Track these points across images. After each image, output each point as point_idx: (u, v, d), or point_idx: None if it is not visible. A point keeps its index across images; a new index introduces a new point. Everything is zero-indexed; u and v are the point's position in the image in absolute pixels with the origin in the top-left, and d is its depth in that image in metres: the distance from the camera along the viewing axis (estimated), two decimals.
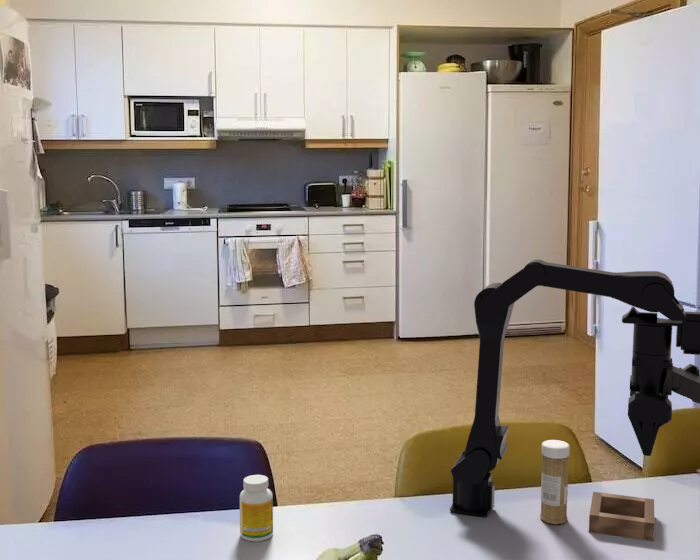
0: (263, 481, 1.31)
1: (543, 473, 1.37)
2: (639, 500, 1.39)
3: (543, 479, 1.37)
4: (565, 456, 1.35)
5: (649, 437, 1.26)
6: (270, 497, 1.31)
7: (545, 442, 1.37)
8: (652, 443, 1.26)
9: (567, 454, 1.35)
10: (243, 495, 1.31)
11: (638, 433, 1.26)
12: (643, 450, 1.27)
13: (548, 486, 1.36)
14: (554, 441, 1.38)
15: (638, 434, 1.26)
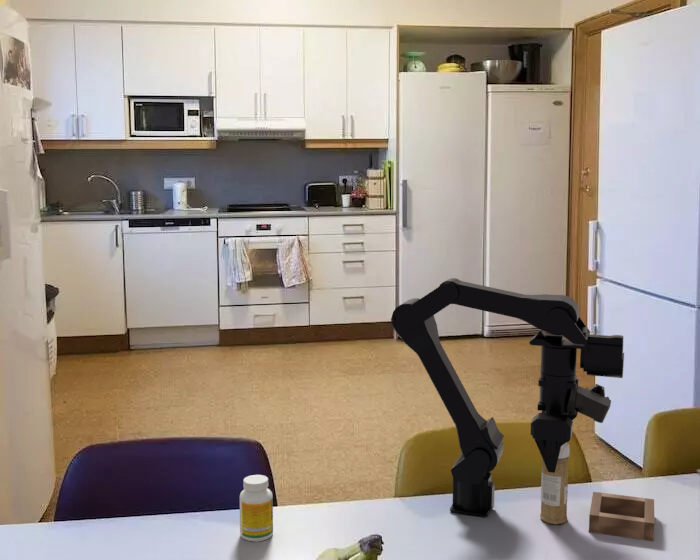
0: (263, 481, 1.31)
1: (543, 473, 1.37)
2: (639, 500, 1.39)
3: (543, 479, 1.37)
4: (565, 456, 1.35)
5: (552, 455, 1.31)
6: (270, 497, 1.31)
7: None
8: (555, 460, 1.31)
9: (567, 454, 1.35)
10: (243, 495, 1.31)
11: (542, 451, 1.31)
12: (547, 467, 1.32)
13: (548, 486, 1.36)
14: None
15: (542, 452, 1.31)
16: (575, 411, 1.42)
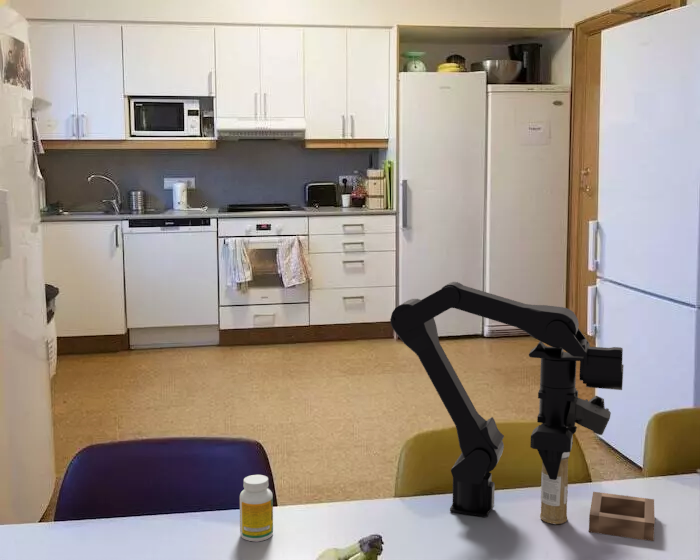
0: (264, 481, 1.31)
1: (543, 473, 1.37)
2: (639, 500, 1.39)
3: (543, 479, 1.37)
4: (565, 456, 1.35)
5: (554, 462, 1.34)
6: (270, 497, 1.31)
7: None
8: (557, 468, 1.34)
9: (567, 454, 1.35)
10: (243, 495, 1.31)
11: (544, 458, 1.34)
12: (549, 474, 1.35)
13: (548, 486, 1.36)
14: None
15: (544, 459, 1.34)
16: (574, 426, 1.40)
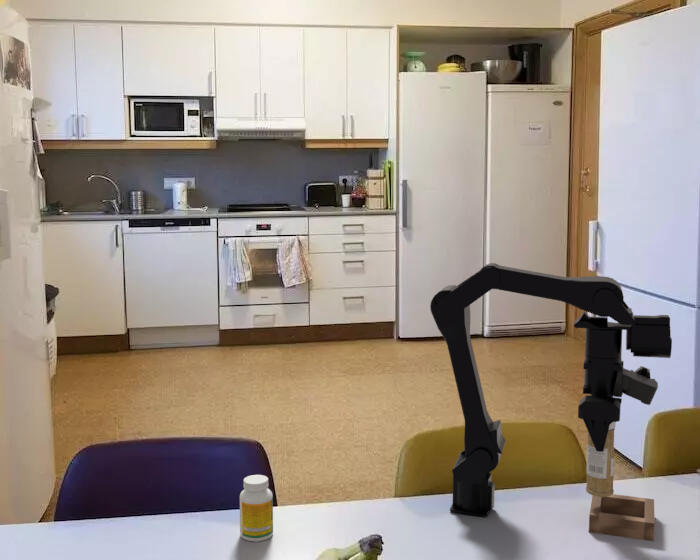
0: (264, 481, 1.31)
1: (589, 445, 1.35)
2: (639, 500, 1.39)
3: (589, 451, 1.35)
4: (611, 427, 1.33)
5: (601, 434, 1.32)
6: (270, 497, 1.31)
7: None
8: (604, 439, 1.32)
9: (613, 425, 1.33)
10: (243, 495, 1.31)
11: (590, 430, 1.32)
12: (596, 446, 1.33)
13: (594, 458, 1.34)
14: None
15: (590, 431, 1.32)
16: (619, 398, 1.38)
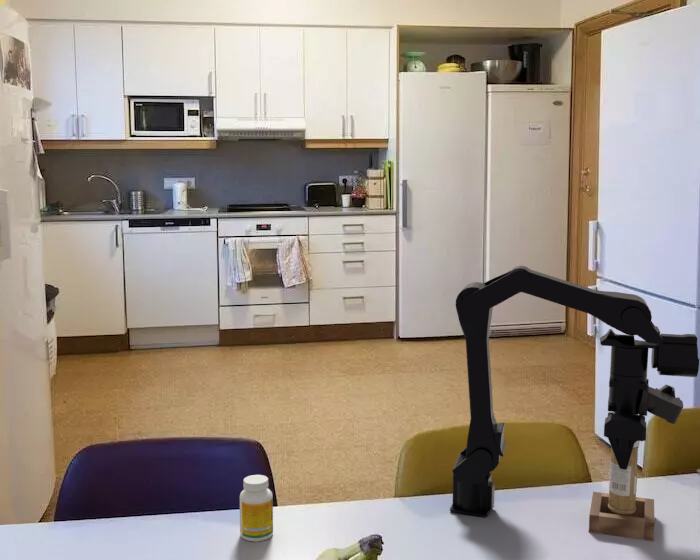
0: (263, 481, 1.31)
1: (612, 463, 1.35)
2: (639, 500, 1.39)
3: (612, 469, 1.35)
4: (636, 445, 1.33)
5: (625, 452, 1.31)
6: (270, 497, 1.31)
7: None
8: (628, 457, 1.32)
9: (638, 443, 1.33)
10: (243, 495, 1.31)
11: (615, 448, 1.32)
12: (619, 464, 1.33)
13: (618, 476, 1.34)
14: None
15: (615, 448, 1.32)
16: (642, 416, 1.38)
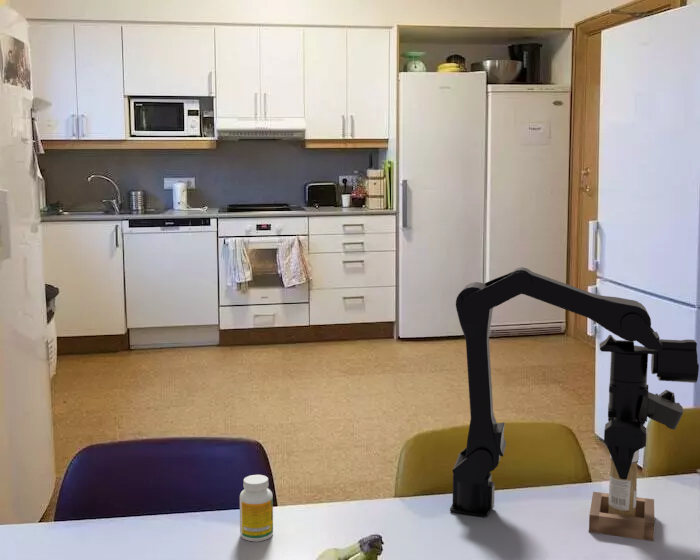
0: (264, 481, 1.31)
1: (612, 477, 1.35)
2: (639, 500, 1.39)
3: (612, 483, 1.35)
4: (635, 460, 1.33)
5: (625, 461, 1.30)
6: (270, 497, 1.31)
7: None
8: (628, 467, 1.30)
9: (637, 458, 1.33)
10: (243, 495, 1.31)
11: (614, 457, 1.30)
12: (619, 474, 1.31)
13: (617, 490, 1.34)
14: None
15: (614, 458, 1.30)
16: None
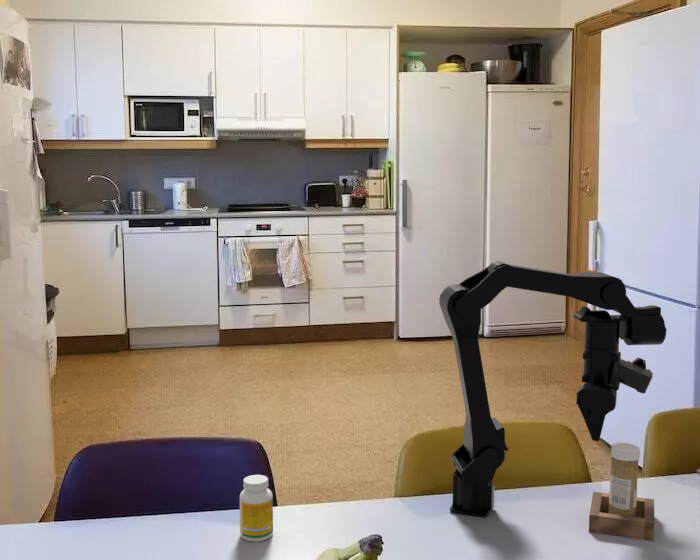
0: (263, 481, 1.31)
1: (612, 476, 1.35)
2: (639, 500, 1.39)
3: (612, 482, 1.35)
4: (636, 459, 1.33)
5: (597, 424, 1.38)
6: (270, 497, 1.31)
7: (615, 444, 1.36)
8: (600, 429, 1.38)
9: (638, 457, 1.34)
10: (243, 495, 1.31)
11: (587, 420, 1.38)
12: (592, 436, 1.39)
13: (618, 489, 1.34)
14: (623, 444, 1.36)
15: (587, 421, 1.38)
16: None
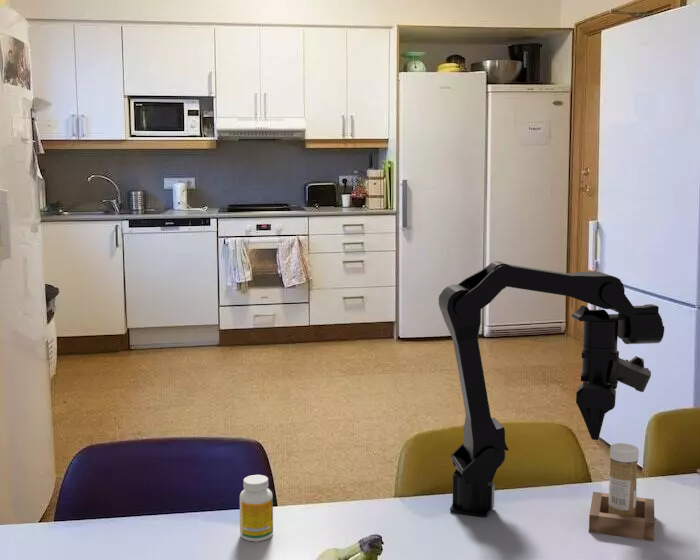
0: (263, 481, 1.31)
1: (612, 477, 1.35)
2: (639, 500, 1.39)
3: (611, 483, 1.35)
4: (635, 460, 1.33)
5: (596, 423, 1.38)
6: (270, 497, 1.31)
7: (613, 445, 1.35)
8: (599, 428, 1.38)
9: (637, 458, 1.33)
10: (243, 495, 1.31)
11: (586, 419, 1.38)
12: (591, 435, 1.39)
13: (617, 490, 1.34)
14: (622, 444, 1.36)
15: (586, 420, 1.38)
16: None
